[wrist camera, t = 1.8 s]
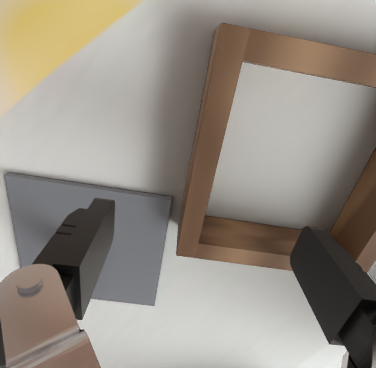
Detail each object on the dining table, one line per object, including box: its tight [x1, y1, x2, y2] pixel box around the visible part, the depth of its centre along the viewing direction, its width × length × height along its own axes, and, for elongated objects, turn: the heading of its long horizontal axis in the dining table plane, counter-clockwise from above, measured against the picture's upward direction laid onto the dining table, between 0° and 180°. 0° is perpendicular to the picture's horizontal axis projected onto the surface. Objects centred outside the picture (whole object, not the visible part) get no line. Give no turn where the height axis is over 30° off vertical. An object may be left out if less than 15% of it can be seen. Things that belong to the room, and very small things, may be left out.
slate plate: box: [4, 173, 172, 306], centre depth 24 cm, size 14×14×1 cm
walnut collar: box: [176, 23, 376, 273], centre depth 19 cm, size 16×16×4 cm
